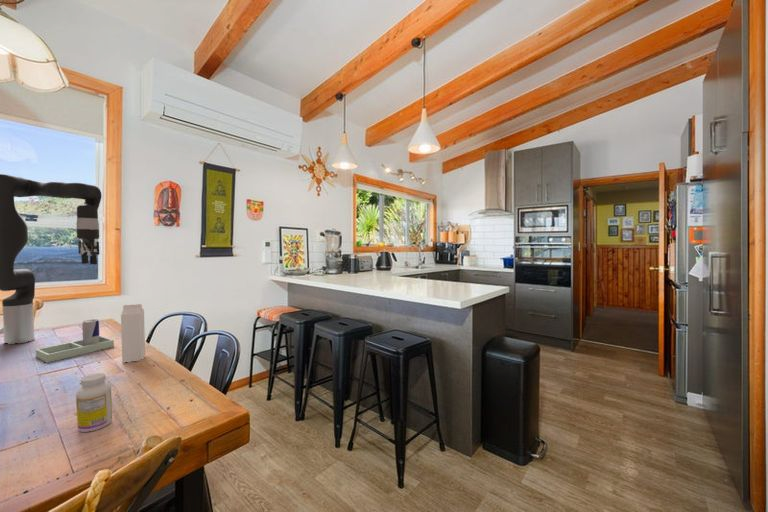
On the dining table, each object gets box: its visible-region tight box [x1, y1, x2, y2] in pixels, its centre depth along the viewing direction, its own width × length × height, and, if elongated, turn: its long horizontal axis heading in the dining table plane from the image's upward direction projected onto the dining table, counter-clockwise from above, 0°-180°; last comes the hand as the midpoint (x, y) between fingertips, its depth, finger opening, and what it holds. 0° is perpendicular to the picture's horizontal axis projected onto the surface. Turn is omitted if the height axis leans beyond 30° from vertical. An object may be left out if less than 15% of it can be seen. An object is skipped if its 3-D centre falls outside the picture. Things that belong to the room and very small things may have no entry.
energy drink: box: [81, 319, 100, 346], centre depth 139 cm, size 5×5×12 cm
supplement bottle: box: [75, 372, 113, 433], centre depth 82 cm, size 7×7×13 cm
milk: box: [120, 303, 146, 364], centre depth 127 cm, size 6×6×22 cm
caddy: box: [35, 335, 115, 363], centre depth 135 cm, size 12×21×3 cm, turn 152°
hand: (89, 263), depth 147 cm, fingers open, 8 cm apart
